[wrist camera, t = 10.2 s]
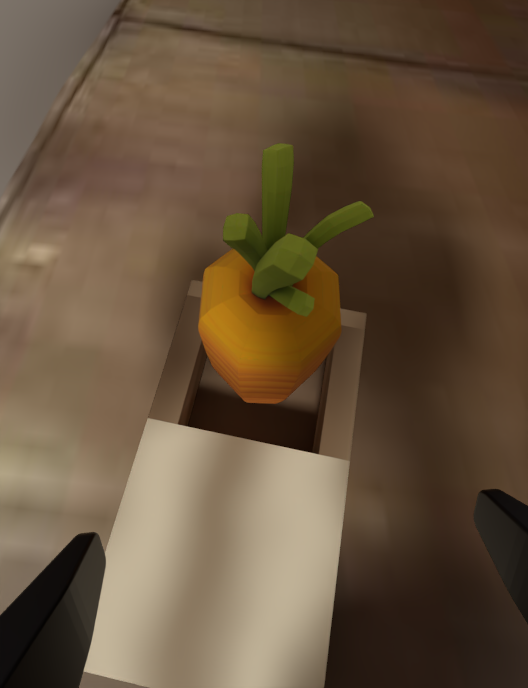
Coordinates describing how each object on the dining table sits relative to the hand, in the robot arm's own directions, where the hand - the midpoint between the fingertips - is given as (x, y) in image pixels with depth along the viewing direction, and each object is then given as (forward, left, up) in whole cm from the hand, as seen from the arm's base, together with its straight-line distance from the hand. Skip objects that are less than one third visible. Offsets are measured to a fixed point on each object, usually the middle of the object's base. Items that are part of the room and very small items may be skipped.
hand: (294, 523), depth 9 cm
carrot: (+2, -6, -12) cm, 13 cm away
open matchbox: (+2, -2, -11) cm, 12 cm away
